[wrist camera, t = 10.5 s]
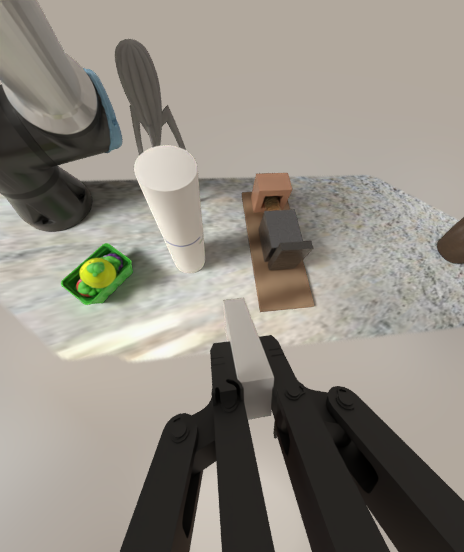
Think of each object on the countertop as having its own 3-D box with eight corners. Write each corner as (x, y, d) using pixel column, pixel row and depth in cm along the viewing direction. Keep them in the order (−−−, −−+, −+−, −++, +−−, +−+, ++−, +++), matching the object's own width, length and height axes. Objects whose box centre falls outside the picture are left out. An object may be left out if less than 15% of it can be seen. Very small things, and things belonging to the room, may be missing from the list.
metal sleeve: (292, 259, 47) (304, 245, 41) (264, 262, 46) (271, 247, 40) (284, 227, 50) (294, 209, 44) (258, 229, 49) (264, 210, 43)
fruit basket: (117, 252, 46) (87, 223, 35) (146, 273, 45) (124, 250, 34) (76, 290, 42) (29, 271, 32) (106, 315, 41) (67, 303, 30)
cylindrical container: (167, 259, 46) (120, 166, 22) (189, 240, 48) (167, 136, 25) (190, 279, 45) (164, 202, 21) (211, 258, 47) (210, 167, 24)
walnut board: (312, 306, 44) (314, 305, 44) (260, 312, 43) (261, 311, 42) (284, 193, 55) (285, 190, 54) (241, 195, 54) (242, 192, 53)
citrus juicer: (154, 202, 51) (77, 25, 23) (187, 186, 54) (154, 9, 26) (177, 234, 49) (123, 75, 20) (211, 215, 51) (203, 52, 23)
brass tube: (294, 268, 45) (313, 248, 36) (268, 270, 45) (281, 250, 36) (278, 199, 52) (290, 168, 43) (255, 200, 51) (263, 168, 42)
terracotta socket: (282, 211, 52) (292, 189, 45) (253, 212, 51) (259, 190, 44) (278, 196, 54) (287, 172, 47) (250, 197, 53) (256, 173, 46)
